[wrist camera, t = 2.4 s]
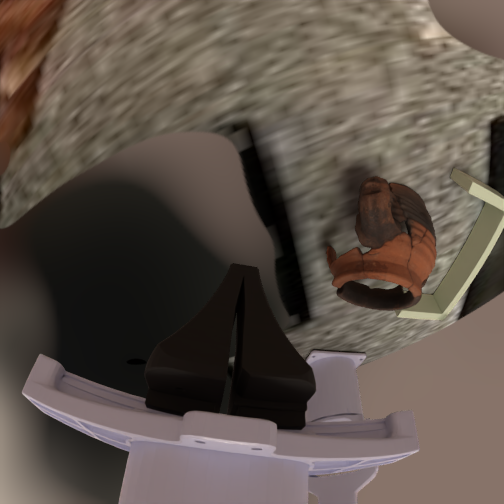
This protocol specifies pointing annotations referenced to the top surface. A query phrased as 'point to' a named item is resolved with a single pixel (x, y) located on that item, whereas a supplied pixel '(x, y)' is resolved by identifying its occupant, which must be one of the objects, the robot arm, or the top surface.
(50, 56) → the top surface
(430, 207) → the top surface
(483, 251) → the tray
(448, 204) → the top surface
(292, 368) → the robot arm
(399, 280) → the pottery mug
